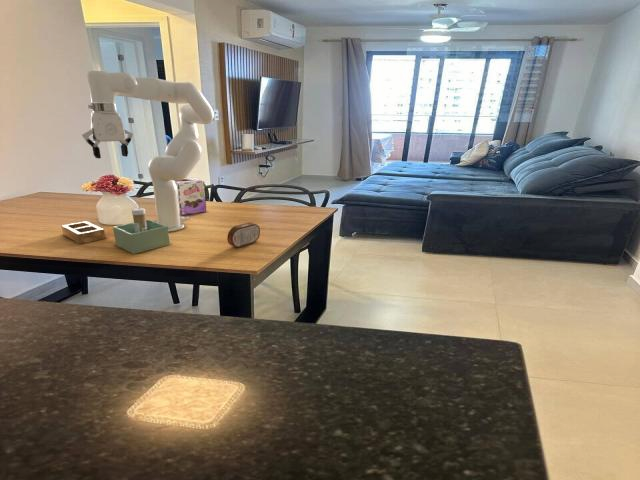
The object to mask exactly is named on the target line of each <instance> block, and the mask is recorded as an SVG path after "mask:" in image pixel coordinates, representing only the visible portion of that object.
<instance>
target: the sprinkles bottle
mask: <svg viewBox="0 0 640 480" xmlns="http://www.w3.org/2000/svg"><path fill="white" fill-rule="evenodd" d="M131 214H132V219H133V223H134V228H135V233H138V232H142V231H147V225H146V220H147V219H146V209H145V208H143V207H135V208H133V209H131Z"/></svg>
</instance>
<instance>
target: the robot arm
mask: <svg viewBox="0 0 640 480" xmlns="http://www.w3.org/2000/svg"><path fill="white" fill-rule="evenodd" d="M87 82H88V88H89V94H90V100H91V101H90V102H91V104H88V105H87V108H88V109H89V110H92V112H91V113H90V129H89V130H88V131H86V132H84V133H82V134H81V136H82V138H83V139H84V141H85V142H86V144H88V145H90V147H91V148H92V154H93V157H94V158H95V159H102V156H101V150H100V147H99V144H100V143H101V142H105V143H106V142H107V143H108V142H119V143H120V152H121V156H122V157H125V158H126V157H128V155H129V149H128V146H129V144H130V143H131V141H132V138H133V135H134V134H133V132H131V131H128V130H126V129H125V127H124V123H123V119H122V116H121V114H120V112H117V105H116V96H118V97H125V98H133V99H140V100H145V101H154V102H164V103H169V104H177V105H178V104H183V105H182V106H181V107H180V108H179V112H178V116H179V121H180V122H179V123H180V128H179V131H178V132H177V133H176V134H175V135H174V137H172V139H171V140H170V141H169V143H168V144H167V145H166V147H165V155H166V156H163V155H158V156H155V157H153V158H151V159H150V160H149V162H148V172H149V176H150V179H151V183H152V188H153V198H154V205H155V215H156V222H157V223H160V224H163V225H165V226H168V233H169V232H176V231H180V230H183V229H184V228H185V223H184V222H188V221H190V220H191V217H190V216H189V215H187V216H181V215H179V205H178V194H177V187H176V184H175V182H181V181H184V180H185V179H187V177H188V176H189V175H190V174H191V172H192V171H193V170H194V168H195V167H196V165H197V164H198V163H199V162H200V160H201V157H202V147H201V145H200V144H199V143H198V140H199V132H198V126H197V125H208V124H211V123H212V122H213V120H214V119H215V112H214V110H213V108H212V106H211V104H210V103H209V101H208V100H207V98H206V97H205V96H204V94H203V93H202V91H201V90H200V89H199V88H198V87H197V86H196V85H195V84H193V83H192V82H189V81H186V82H185V81H183V82H181V81H179V82H178V81H173V80H167V79H161V78H156V77H134V76H133V75H132V74H130V73H127V72H108V71H105V70H90V71H88V72H87ZM90 136H91V137H92V140H91V139H90Z"/></svg>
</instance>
